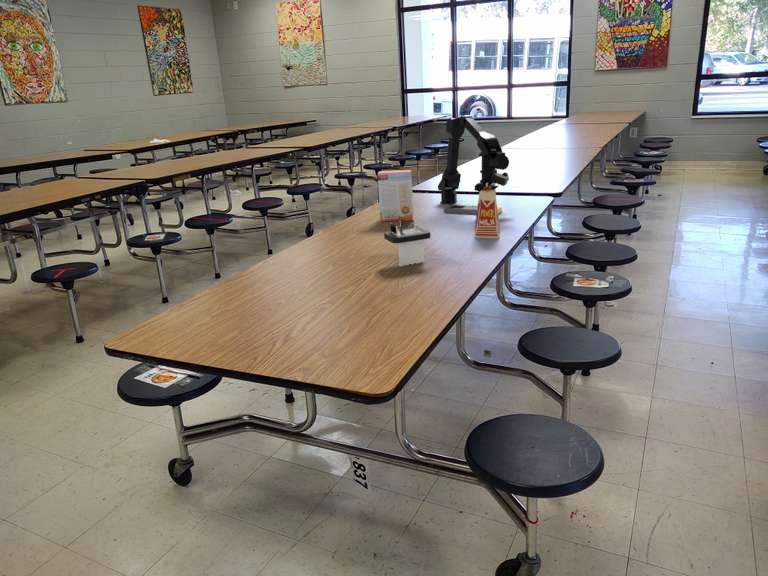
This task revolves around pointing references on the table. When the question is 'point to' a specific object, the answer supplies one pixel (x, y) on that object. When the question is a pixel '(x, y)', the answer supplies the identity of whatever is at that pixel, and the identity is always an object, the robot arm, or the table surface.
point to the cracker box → (395, 195)
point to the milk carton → (487, 215)
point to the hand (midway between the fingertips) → (488, 203)
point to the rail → (464, 209)
